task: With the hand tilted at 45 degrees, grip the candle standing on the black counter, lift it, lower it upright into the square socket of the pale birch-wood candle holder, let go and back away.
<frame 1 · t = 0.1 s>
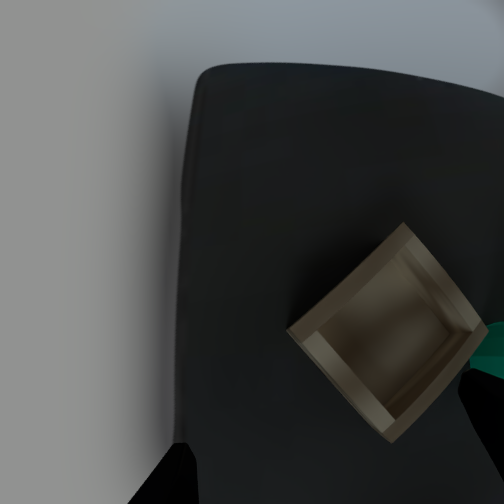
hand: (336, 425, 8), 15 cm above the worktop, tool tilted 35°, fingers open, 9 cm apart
candle: (490, 354, 21), on the worktop
candle holder: (381, 334, 23), on the worktop
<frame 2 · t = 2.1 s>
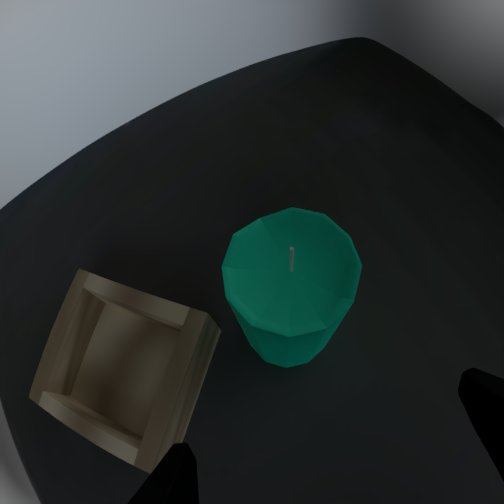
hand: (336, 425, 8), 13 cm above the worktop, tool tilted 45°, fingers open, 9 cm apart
candle: (288, 327, 23), on the worktop
candle holder: (133, 372, 22), on the worktop
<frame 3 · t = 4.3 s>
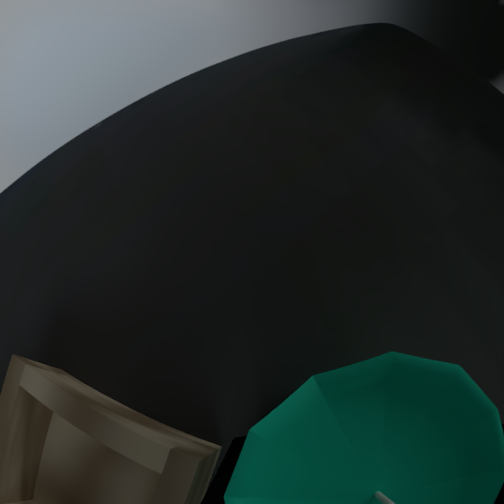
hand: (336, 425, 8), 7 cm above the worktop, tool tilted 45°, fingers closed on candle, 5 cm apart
candle: (319, 442, 13), on the worktop, touching gripper
candle holder: (105, 485, 13), on the worktop
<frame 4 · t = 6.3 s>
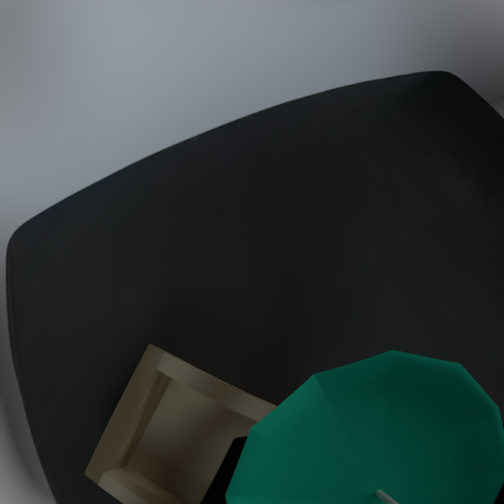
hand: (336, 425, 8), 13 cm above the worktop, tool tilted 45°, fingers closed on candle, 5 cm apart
candle: (320, 441, 13), point 6 cm above the worktop, touching gripper
candle holder: (203, 449, 19), on the worktop
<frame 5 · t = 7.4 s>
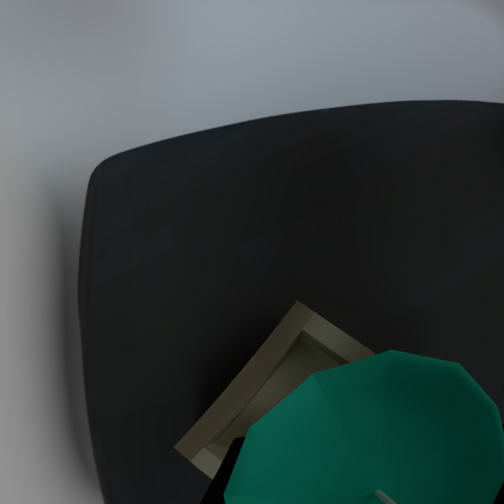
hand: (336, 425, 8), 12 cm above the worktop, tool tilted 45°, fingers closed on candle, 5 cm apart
candle: (320, 440, 13), point 5 cm above the worktop, touching gripper
candle holder: (310, 428, 18), on the worktop
when the fingers open (9 cm above the worktop, at t = 8.4 s): candle drops 1 cm, resting on candle holder.
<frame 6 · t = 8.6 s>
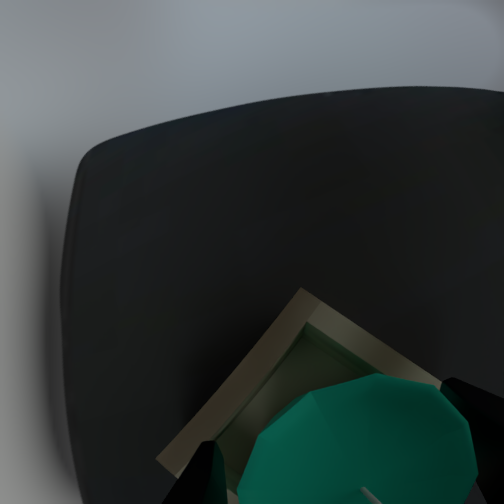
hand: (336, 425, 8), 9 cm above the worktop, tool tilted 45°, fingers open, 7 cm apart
candle: (319, 442, 15), point 1 cm above the worktop, touching candle holder
candle holder: (315, 437, 15), on the worktop
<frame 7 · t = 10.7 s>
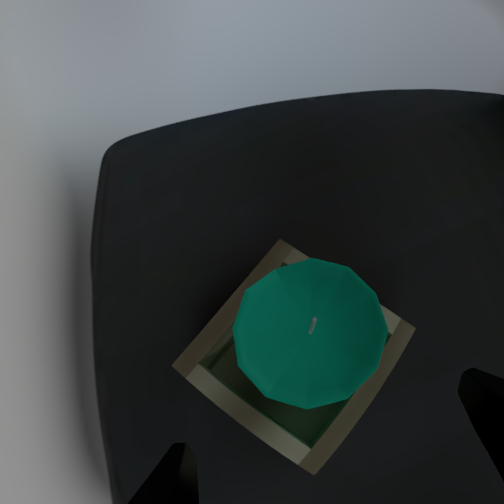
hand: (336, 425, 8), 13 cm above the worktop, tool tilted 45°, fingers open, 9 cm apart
candle: (297, 364, 21), point 1 cm above the worktop, touching candle holder
candle holder: (295, 361, 22), on the worktop
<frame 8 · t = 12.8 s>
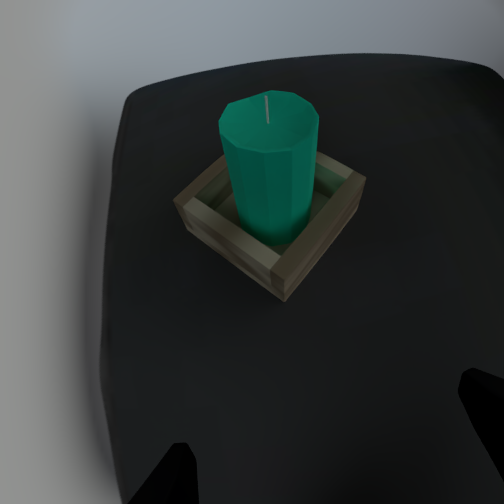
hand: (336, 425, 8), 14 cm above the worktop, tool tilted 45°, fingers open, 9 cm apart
candle: (274, 216, 27), point 1 cm above the worktop, touching candle holder
candle holder: (273, 219, 28), on the worktop
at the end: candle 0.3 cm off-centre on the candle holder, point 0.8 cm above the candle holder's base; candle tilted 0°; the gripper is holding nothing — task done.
